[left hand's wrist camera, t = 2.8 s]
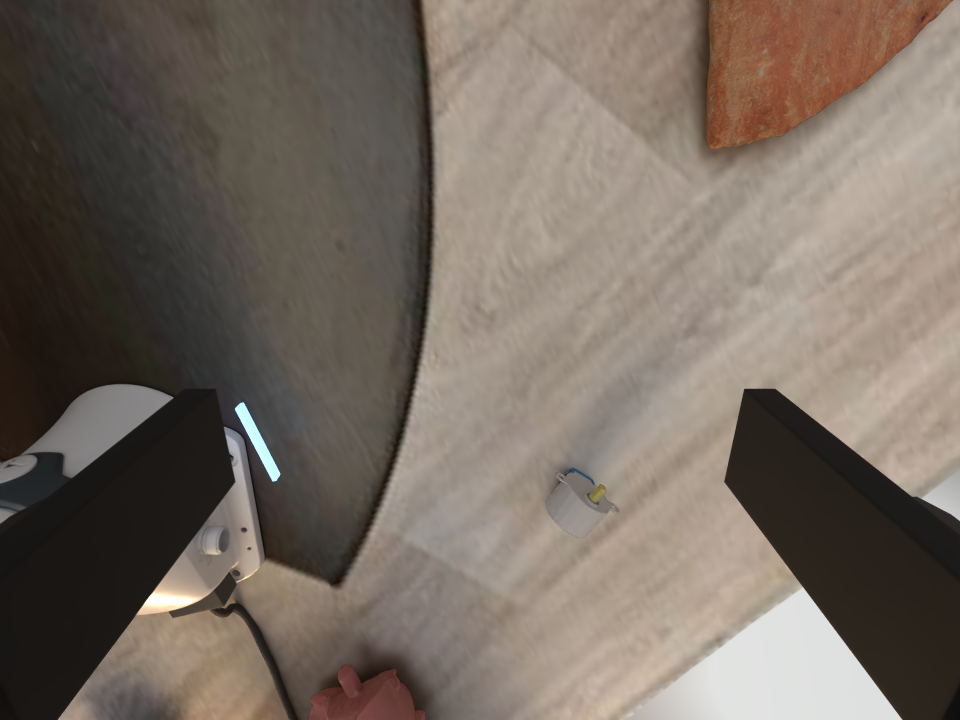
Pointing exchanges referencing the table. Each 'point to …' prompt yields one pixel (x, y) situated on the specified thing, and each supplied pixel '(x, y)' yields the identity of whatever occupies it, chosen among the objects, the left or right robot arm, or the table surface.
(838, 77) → the ceramic shard
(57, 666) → the left robot arm
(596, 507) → the electric motor
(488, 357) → the table surface
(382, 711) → the pink faceted figure
